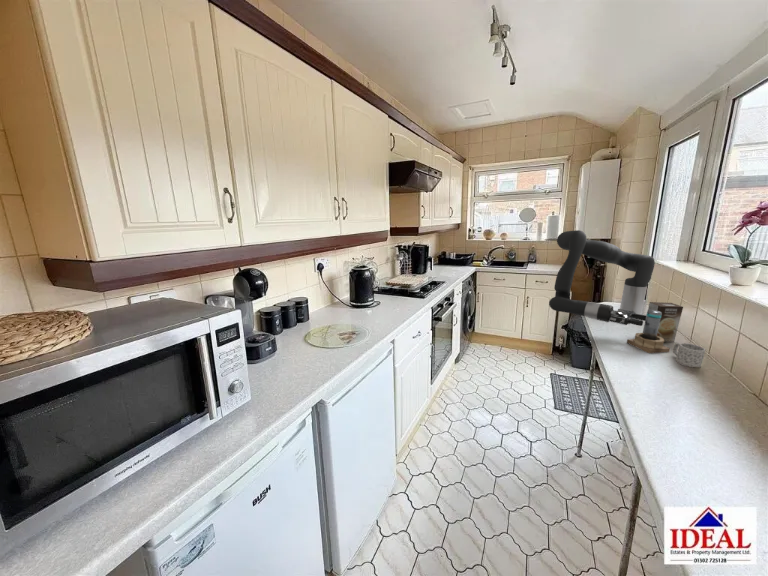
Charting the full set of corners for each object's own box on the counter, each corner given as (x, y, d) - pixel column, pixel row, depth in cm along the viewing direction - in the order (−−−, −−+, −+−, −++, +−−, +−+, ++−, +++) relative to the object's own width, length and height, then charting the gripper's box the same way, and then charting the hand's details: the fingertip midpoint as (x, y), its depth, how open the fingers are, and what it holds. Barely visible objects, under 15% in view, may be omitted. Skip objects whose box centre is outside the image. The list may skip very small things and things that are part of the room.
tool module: (647, 341, 127) (654, 309, 123) (657, 345, 122) (665, 313, 119) (637, 341, 126) (644, 310, 123) (647, 346, 122) (655, 313, 119)
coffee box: (652, 341, 130) (660, 306, 126) (641, 335, 136) (648, 301, 132) (675, 342, 129) (683, 306, 125) (663, 336, 135) (671, 302, 131)
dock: (645, 341, 130) (647, 331, 129) (669, 351, 120) (671, 341, 119) (626, 342, 129) (628, 333, 128) (649, 353, 119) (651, 342, 118)
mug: (706, 368, 108) (711, 351, 106) (686, 367, 108) (691, 350, 107) (681, 355, 118) (685, 339, 116) (663, 354, 118) (667, 339, 116)
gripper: (595, 307, 130) (643, 316, 118) (604, 300, 139) (649, 308, 127) (592, 323, 132) (639, 333, 120) (601, 315, 141) (646, 324, 129)
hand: (644, 320), depth 124 cm, fingers open, 8 cm apart
